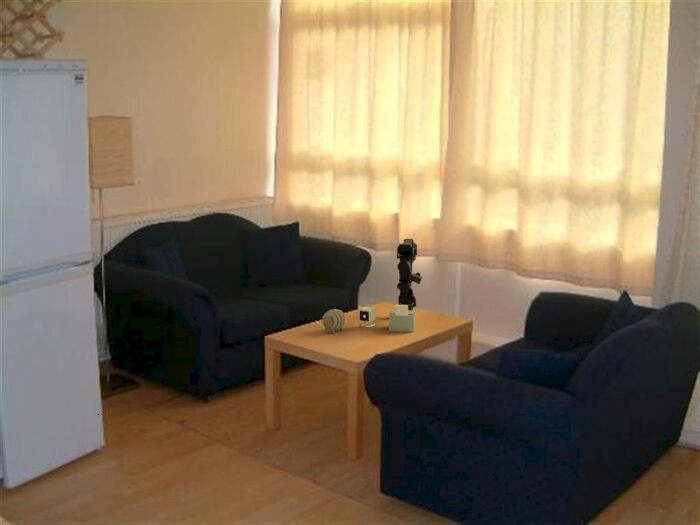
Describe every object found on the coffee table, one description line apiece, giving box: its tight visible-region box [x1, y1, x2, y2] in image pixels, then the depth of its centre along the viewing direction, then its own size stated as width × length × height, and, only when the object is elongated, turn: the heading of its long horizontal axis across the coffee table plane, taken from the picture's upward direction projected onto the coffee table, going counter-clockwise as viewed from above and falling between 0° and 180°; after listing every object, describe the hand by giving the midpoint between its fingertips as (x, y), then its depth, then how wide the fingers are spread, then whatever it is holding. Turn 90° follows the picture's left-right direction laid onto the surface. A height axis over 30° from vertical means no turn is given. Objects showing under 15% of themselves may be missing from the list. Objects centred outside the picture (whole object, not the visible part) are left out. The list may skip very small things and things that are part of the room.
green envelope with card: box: [388, 304, 415, 333], centre depth 401 cm, size 1×12×13 cm, turn 81°
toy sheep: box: [322, 308, 346, 335], centre depth 406 cm, size 11×17×11 cm, turn 153°
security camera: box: [358, 306, 377, 328], centre depth 412 cm, size 6×7×10 cm
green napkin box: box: [388, 309, 416, 330], centre depth 406 cm, size 8×12×10 cm, turn 81°
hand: (404, 299), depth 417 cm, fingers closed
